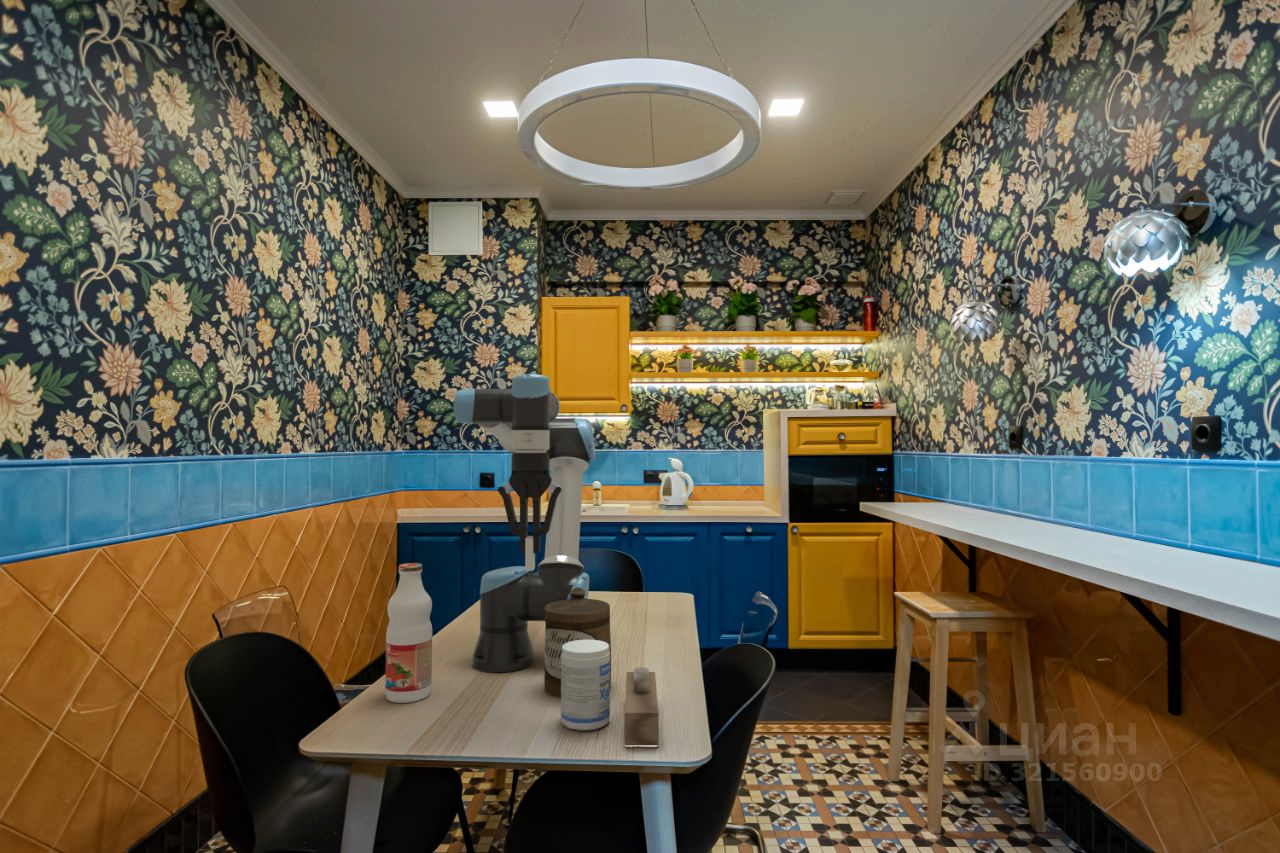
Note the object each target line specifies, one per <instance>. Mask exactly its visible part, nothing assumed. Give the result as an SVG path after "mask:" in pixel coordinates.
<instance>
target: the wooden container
mask: <svg viewBox="0 0 1280 853" xmlns="http://www.w3.org/2000/svg"><path fill="white" fill-rule="evenodd" d="M570 596H571V597H572V598H571V599H568V600H561V601H556V602H552V603H550V604H547V605H546V606H545V621H544V622H545V624H544V625H545V628H544V631H545V632H544V656H543V657H544V664H543V666H544V667H543V668H544V686H543V687H544V691H545V692H546V693H547V694H548V695H551V696H552V695H553V697H555V696H556V698H558V697H561V653H562V646H563V645H564V644H565V643H568V642H571V641H576V640H599V641H603V642H606V643H607V644H608V645H609V652H610V689H611V686H612V644H611V639H612V638H611V607H610V606H611V605H610V604H609V603H608V602H607V601H604V600H601V599H593V598H587V599H585V598H584V596H585V590H583V589H582V588H574V589H573V590H571V591H570Z"/></svg>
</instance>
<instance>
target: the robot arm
mask: <svg viewBox="0 0 1280 853" xmlns="http://www.w3.org/2000/svg"><path fill="white" fill-rule="evenodd" d="M511 382H512V383H511V388H473V387H472V388H465V389H458V390H457V392H456V393H455V395H454V399H453V406H452V407H453V415H454V418H455V420H456V421H457V422H458V423H460V424H465V425H466V424H468V425H472V424H473V425H474V424H475V425H478V426H480V427H481V428H482V429H484V430H485V431H487V432H488V433H489V434H491V435H492V436H494V437H495V439H497V440H498V443H499V444H500V446H501V447H502V448H503V449H505V450H506V452H507V451H508V452H509V453H511V473H510V477H509V478H508V481H507V482H506V483H505V484H503V485H502V486H499V487H497V491H498V494H499V495H500V497H501V498H502V500H503V505H504V509H505V513H506V518H507V522H508V526H509V529H510V530H509V531H510V533H511V534H512V535H515V536H518V537H519V552H520V554H524V555H525V556H524V557H525V558H524V559H525V560H524V561H525V562H524V563H525V564H524V565H523V566H521V565H516V566H508V567H500V568H496V569H494V570H489V571H488V572H486V573H484V574H483V575H482V577H481V580H480V590H479V595H480V596H479V600H480V602H479V608H480V609H479V636H478V638H477V641H476V644H475V646H474V647H475V648H474V650H473V653H472V658H471V659H472V664H471V665H472V668H474V669H475V670H478V671H481V672H487V673H507V672H508V673H510V672H515V671H520V670H524V669H526V668H529V667H531V666H532V665H533V664H535V650H534V646H533V643H532V641H531V637H530V634H529V631H528V630H529V629H528V622H545V606H546V605H547V604H550V603H552V602H556V601H561V600H568V599H571V598H572V597H571V596H570V591H571V590H573V589H574V588H582V589H583V590H585V596H584V598H585V599H589V598H588V597H589V590H590V575H589V573H586V572H584V569H585V566H584V565H583V564H582V563H581V562H580V561H579V555H580V554H579V553H580V552H579V551H580V536H581V533H580V532H581V520H582V519H581V518H582V516H581V514H582V497H583V480H584V479H583V478H584V473H585V472H586V471H588V469H589V467H590V462H593V461H595V460H596V447H595V438H594V431H593V426H592V424H591V421H590V420H589V419H587V418H576V417H571V418H570V417H569V418H567V417H566V418H565V417H564V418H563V417H562V418H558V416H559V414H560V410H561V404H560V401H559V398H558V397H557V395H556V394H555V393H554V392H552V391H551V388H550V379H549V377H548V376H546V375H544V374H532V373H531V374H524V373H523V374H516V375H515V376H513V378H512V381H511ZM548 488H549V494H548V495H549V496H548V504H547V509H546V512H545V517H544V521H543V525H542V526H541V522H542V520H541V518H542V517H541V513H542V511H541V509H542V508H541V507H542V506H541V503H542V496H543V495H544V494H545V492H547V490H548ZM512 489H513V491H514V492H515V494H516V495H517V496H518V497H519V524H518V521H517V515H516V511H515V508H514V507H515V506H514V504H513V499H512V496H511V493H512ZM529 498H530V499H532V535H528V534H529V530H528V529H529V528H528V527H529ZM543 535H546V536H545V537H546V538H545V551H544V559H543V560H542V561H540V563H538V565H537V572H534V570H535V567H536V554H539V553H540V551H541V537H542V536H543Z"/></svg>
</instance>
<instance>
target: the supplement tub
mask: <svg viewBox="0 0 1280 853" xmlns="http://www.w3.org/2000/svg"><path fill="white" fill-rule="evenodd" d="M610 689H611V688H610V652H609V645H608V644H607V643H606V642H603V641H599V640H576V641H571V642H568V643H565V644H564V645H563V646H562V653H561V698H560V720H561V723H562V724H563V726H565V727H566V728H567V729H570V730H573V729H574V730H575V731H593V730H598V729H600V728H603V727H605V726H606V725H607V724H608V723H609V722H610V719H611V690H610Z"/></svg>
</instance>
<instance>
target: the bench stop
mask: <svg viewBox="0 0 1280 853" xmlns="http://www.w3.org/2000/svg"><path fill="white" fill-rule="evenodd" d="M656 678H657V677H656V671H650V670H649V668H647V667H643V666H641V667H634V668H633V671H626V679H625V700H624V746H625V745H659V740H660V739H659V735H660V733H659V731H660V730H659V725H660V724H659V715H660V714H659V704H658V692H657V679H656ZM659 746H660V745H659Z"/></svg>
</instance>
